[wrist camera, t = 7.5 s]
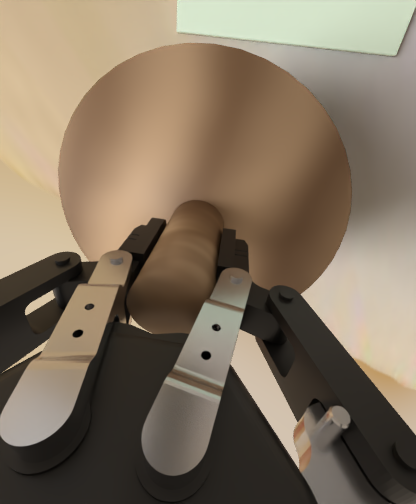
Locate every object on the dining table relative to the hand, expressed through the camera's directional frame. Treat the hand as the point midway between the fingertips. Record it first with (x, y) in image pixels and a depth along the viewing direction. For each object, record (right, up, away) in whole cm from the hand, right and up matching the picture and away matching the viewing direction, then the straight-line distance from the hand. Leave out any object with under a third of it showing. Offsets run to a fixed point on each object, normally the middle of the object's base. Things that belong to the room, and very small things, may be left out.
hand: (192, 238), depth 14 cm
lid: (0, +1, +2) cm, 3 cm away
